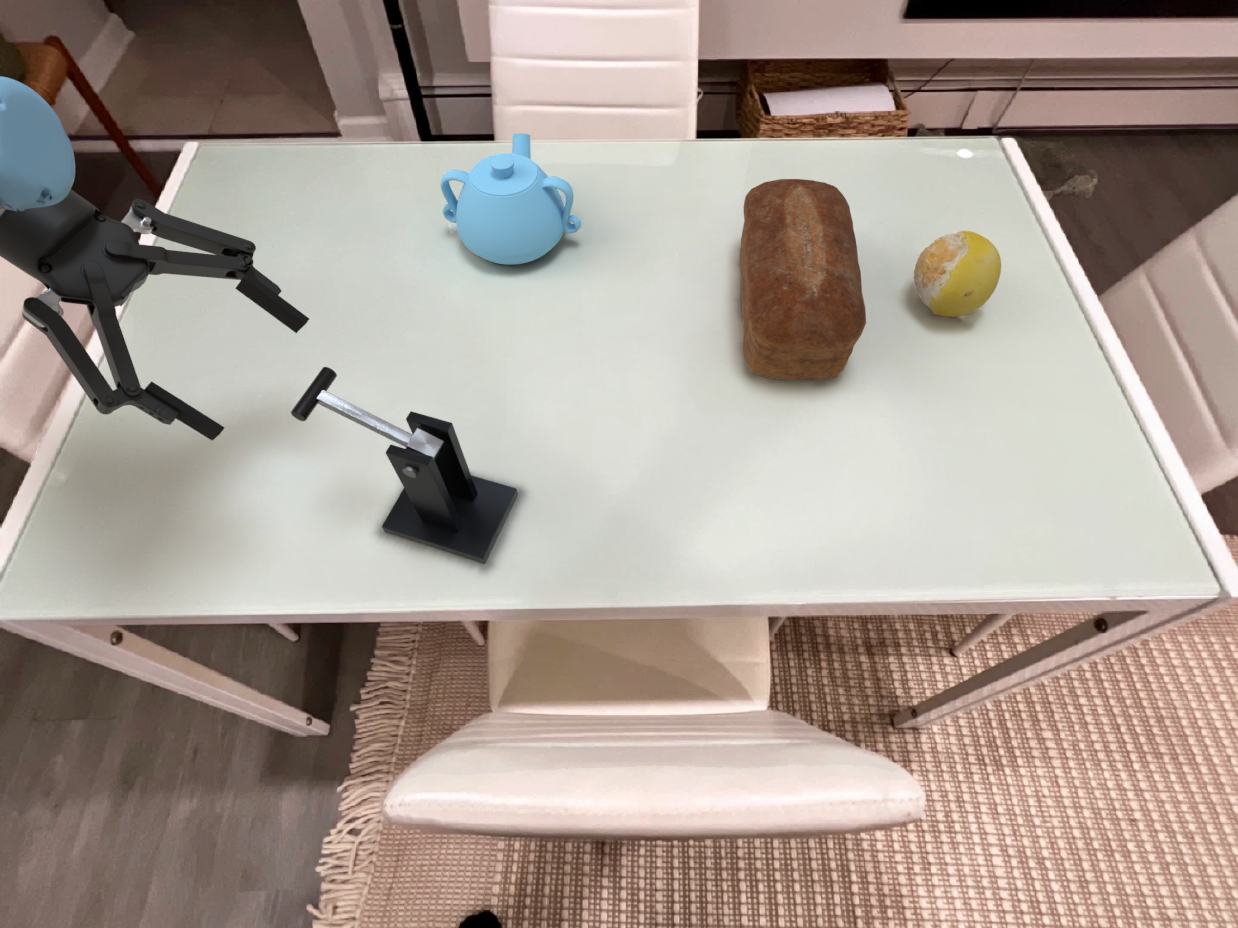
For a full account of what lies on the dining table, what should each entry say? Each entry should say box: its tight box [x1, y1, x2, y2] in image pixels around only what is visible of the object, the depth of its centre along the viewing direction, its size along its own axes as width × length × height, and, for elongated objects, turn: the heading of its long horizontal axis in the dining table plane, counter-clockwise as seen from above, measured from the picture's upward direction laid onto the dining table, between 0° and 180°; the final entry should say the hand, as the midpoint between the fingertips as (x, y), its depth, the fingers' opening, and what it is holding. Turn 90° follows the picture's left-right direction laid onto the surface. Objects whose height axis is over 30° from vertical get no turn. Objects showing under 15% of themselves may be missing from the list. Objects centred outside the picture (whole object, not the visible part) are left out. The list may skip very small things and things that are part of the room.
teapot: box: [440, 132, 582, 266], centre depth 98 cm, size 20×20×13 cm
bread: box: [739, 178, 867, 382], centre depth 89 cm, size 14×28×12 cm, turn 176°
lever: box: [290, 366, 444, 461], centre depth 66 cm, size 13×6×2 cm, turn 71°
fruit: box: [913, 230, 1002, 318], centre depth 90 cm, size 10×11×10 cm
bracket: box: [381, 411, 519, 564], centre depth 72 cm, size 12×9×15 cm
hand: (263, 377), depth 66 cm, fingers open, 13 cm apart
